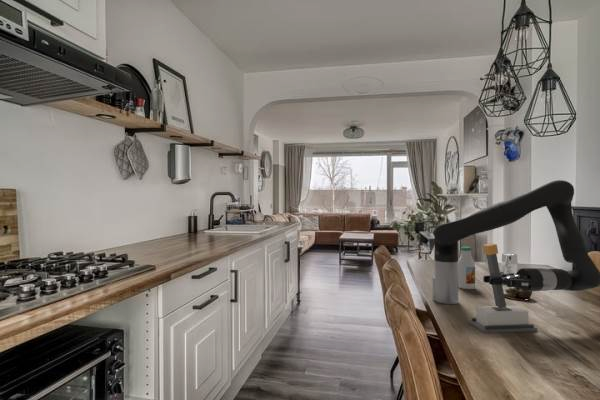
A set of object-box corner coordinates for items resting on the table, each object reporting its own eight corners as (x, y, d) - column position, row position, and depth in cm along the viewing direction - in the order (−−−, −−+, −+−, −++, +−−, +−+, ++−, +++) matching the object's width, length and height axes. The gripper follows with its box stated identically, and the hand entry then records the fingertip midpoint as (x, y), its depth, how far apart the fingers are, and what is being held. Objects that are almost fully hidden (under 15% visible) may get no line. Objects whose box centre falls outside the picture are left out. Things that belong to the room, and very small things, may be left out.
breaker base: (517, 321, 120) (517, 303, 120) (537, 331, 111) (537, 312, 111) (468, 323, 119) (468, 305, 119) (484, 332, 110) (483, 313, 110)
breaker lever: (502, 303, 117) (490, 243, 116) (508, 306, 113) (496, 244, 113) (493, 305, 116) (482, 245, 116) (499, 308, 113) (488, 246, 113)
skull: (499, 296, 148) (501, 276, 154) (502, 308, 154) (504, 288, 160) (533, 300, 141) (533, 278, 147) (535, 312, 147) (535, 291, 153)
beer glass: (503, 281, 180) (502, 252, 181) (518, 283, 176) (518, 254, 176) (500, 283, 175) (500, 254, 175) (516, 285, 171) (516, 255, 171)
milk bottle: (459, 289, 165) (459, 247, 165) (456, 285, 172) (455, 245, 172) (477, 290, 163) (476, 248, 163) (473, 286, 170) (472, 246, 171)
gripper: (521, 264, 123) (474, 265, 122) (552, 272, 109) (500, 273, 108) (521, 285, 123) (474, 286, 122) (552, 296, 109) (500, 297, 108)
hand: (487, 280), depth 115 cm, fingers closed on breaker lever, 2 cm apart
